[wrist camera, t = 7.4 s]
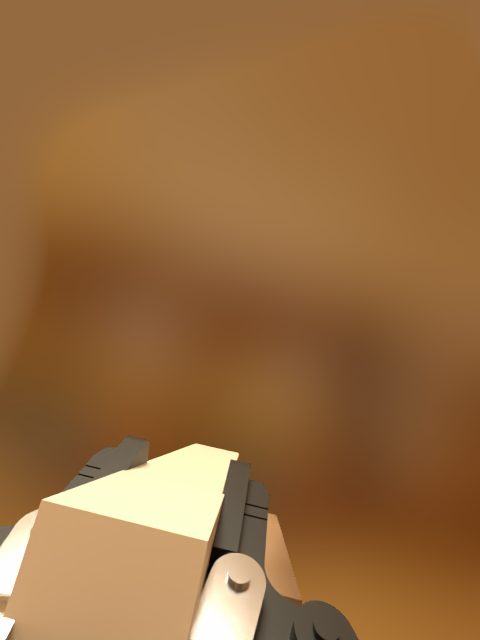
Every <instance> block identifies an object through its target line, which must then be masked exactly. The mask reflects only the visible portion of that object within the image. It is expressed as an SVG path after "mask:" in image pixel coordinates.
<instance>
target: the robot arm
mask: <svg viewBox="0 0 480 640" xmlns="http://www.w3.org/2000/svg"><path fill="white" fill-rule="evenodd" d="M148 451H149V440H146V439H142V438H138V437H133V436H126V437H125V439H124V440H123V441H122V442H121V444H120V445H119V446H118V447H117V449H116V448H112V447H107V448H105V449H103V450H102V451H100V452H98V453H96V454H95V455H94V456H93V457H92V458H91V459H90V460H89V462H88V463H87V464H86V466H85V467H83V469H82V470H81V471H80V472H79V474H78V476H76V477H75V478H74V479H73V480H72V481H71V482H70V483H69V485H68V486H67V487H66V488H65V489H64V490H63V492H65V491H67V490H70V489H73V488H76V487H78V486H81V485H84V484H87V483H89V482H92V481H95V480H97V479H100V478H103V477H106V476H108V475H111V474H114V473H117V472H119V471H122V470H125V471H126V470H129V469H131V468H134V467H137V466H139V465H142V464H145V463H147V460H148ZM250 469H251V464H250V463H246V462H241V461H237V460H233V459H231V460H230V464H229V468H228V472H227V476H226V480H225V484H224V488H223V492H222V494H225V495H224V499H223V503H222V507H221V512H220V516H219V520H218V524H217V528H216V533H215V537H214V541H213V545H212V550H211V556H210V561H209V567H208V572H207V577H206V583H205V586H204V588H203V590H202V593H201V595H200V599H199V603H198V607H197V611H196V616H195V620H194V624H193V628H192V632H191V636H190V640H358V638H357V636H356V634H355V632H354V630H353V629H352V627H351V625H350V623H349V622H348V620H347V619H346V618H345V616H344V615H343V614H342V613H341V612H340V611H339V610H337V609H336V608H335V607H333V606H331V605H330V604H328V603H325V602H322V601H309V602H306V603H304V604H302V605H301V606H300V607H299V606H297V605H296V604H294V603H292V602H291V601H289V600H288V599H286V598H285V597H283V596H282V595H280V594H279V593H278V592H277V591H276V590H275V589H274V587H273V586H272V585H271V583H270V582H269V580H268V578H267V575H266V572H265V549H266V535H267V519H268V505H269V494H268V492H267V489H266V487H265V485H264V483H261V482H257V481H253V480H249V475H250ZM38 510H39V509H38ZM38 510H35V511H33V512H31V513H29V514H27V515H25V516H24V517H23V518H22V519H20V520H19V521H18V523H17V524H16V525H13V526H0V640H10V638H11V634H12V630H13V626H14V622H15V620H12V619H8V618H4V617H3V616H4V613H5V610H6V607H7V604H8V601H9V598H10V595H11V592H12V589H13V585H14V582H15V579H16V576H17V573H18V570H19V567H20V564H21V561H22V558H23V555H24V552H25V549H26V546H27V543H28V540H29V537H30V534H31V531H32V528H33V525H34V522H35V519H36V516H37V513H38Z"/></svg>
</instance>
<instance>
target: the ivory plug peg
mask: <svg viewBox="0 0 480 640" xmlns="http://www.w3.org/2000/svg"><path fill="white" fill-rule="evenodd" d="M238 456H239V453H235V452H231V451H226V450H222V449H217V448H213V447H209V446H204V445H200V444H194V445H191V446H188V447H185V448H183V449H180V450H177V451H175V452H172V453H169V454H166V455H163V456H161V457H158V458H155V459H153V460H150V461H147V463H145V464H142V465H139V466H137V467H134V468H131V469H129V470H126V471H125V470H122V471H119V472H117V473H114V474H111V475H108V476H106V477H103V478H100V479H97V480H95V481H92V482H89V483H87V484H84V485H81V486H78V487H76V488H73V489H70V490H67V491H65V492H62V493H59V494H57V495H54V496H51V497H48V498H45V499H43V500H42V501H41V504H40V507H39V510H38V513H37V516H36V519H35V522H34V525H33V528H32V531H31V534H30V537H29V540H28V543H27V546H26V549H25V552H24V555H23V558H22V561H21V564H20V567H19V570H18V573H17V576H16V579H15V582H14V585H13V589H12V592H11V595H10V598H9V601H8V604H7V607H6V610H5V613H4V616H3V617H4V618H8V619H12V620H15V622H14V626H13V630H12V634H11V638H10V640H190V636H191V632H192V628H193V624H194V620H195V616H196V611H197V607H198V603H199V599H200V595H201V593H202V590H203V588H204V586H205V583H206V577H207V572H208V567H209V561H210V556H211V550H212V545H213V541H214V537H215V533H216V528H217V524H218V520H219V516H220V512H221V507H222V503H223V499H224V495H225V494H222V492H223V488H224V484H225V480H226V476H227V472H228V468H229V464H230V460H231V459H233V460H237V461H238Z"/></svg>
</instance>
